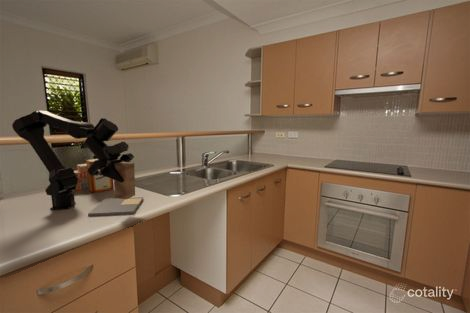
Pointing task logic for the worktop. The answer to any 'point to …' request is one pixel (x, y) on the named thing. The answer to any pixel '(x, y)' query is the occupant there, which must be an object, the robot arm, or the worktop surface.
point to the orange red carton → (81, 177)
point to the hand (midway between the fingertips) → (127, 179)
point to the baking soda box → (98, 180)
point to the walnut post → (125, 180)
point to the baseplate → (116, 206)
